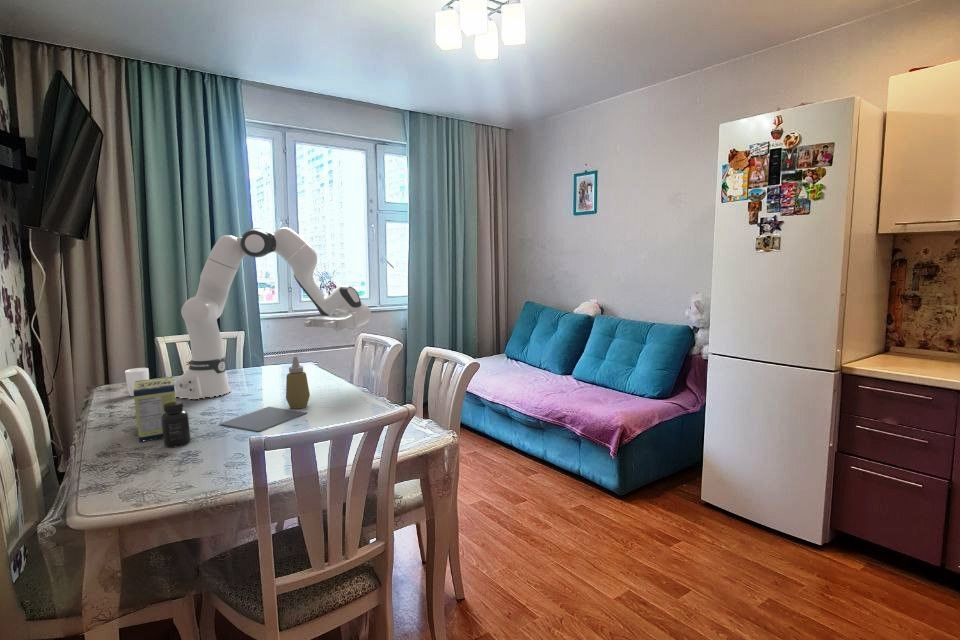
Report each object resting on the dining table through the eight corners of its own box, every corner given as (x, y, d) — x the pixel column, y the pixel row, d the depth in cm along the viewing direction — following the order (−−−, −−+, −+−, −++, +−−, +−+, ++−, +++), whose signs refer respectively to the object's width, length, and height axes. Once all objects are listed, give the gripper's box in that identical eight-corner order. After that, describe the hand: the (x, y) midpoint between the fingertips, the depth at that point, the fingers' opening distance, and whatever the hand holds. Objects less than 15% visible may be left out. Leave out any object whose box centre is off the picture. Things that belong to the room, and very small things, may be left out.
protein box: (177, 422, 172) (173, 375, 170) (179, 435, 159) (174, 385, 157) (139, 428, 167) (134, 380, 165) (138, 443, 153) (132, 391, 151)
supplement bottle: (196, 439, 155) (192, 400, 153) (180, 448, 148) (176, 407, 147) (174, 439, 156) (170, 400, 154) (158, 447, 149) (153, 406, 147)
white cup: (154, 393, 210) (152, 368, 208) (133, 398, 203) (130, 372, 202) (144, 391, 214) (142, 366, 212) (123, 395, 207) (120, 370, 206)
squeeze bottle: (281, 409, 184) (277, 358, 182) (296, 402, 191) (293, 354, 189) (300, 410, 181) (296, 359, 179) (315, 404, 189) (312, 355, 186)
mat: (269, 407, 186) (268, 406, 186) (307, 413, 178) (307, 412, 178) (219, 424, 168) (218, 423, 168) (258, 432, 160) (258, 430, 160)
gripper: (319, 311, 214) (294, 316, 202) (359, 312, 205) (334, 317, 193) (321, 326, 215) (295, 332, 203) (360, 328, 206) (336, 334, 194)
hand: (314, 325), depth 198 cm, fingers open, 8 cm apart
